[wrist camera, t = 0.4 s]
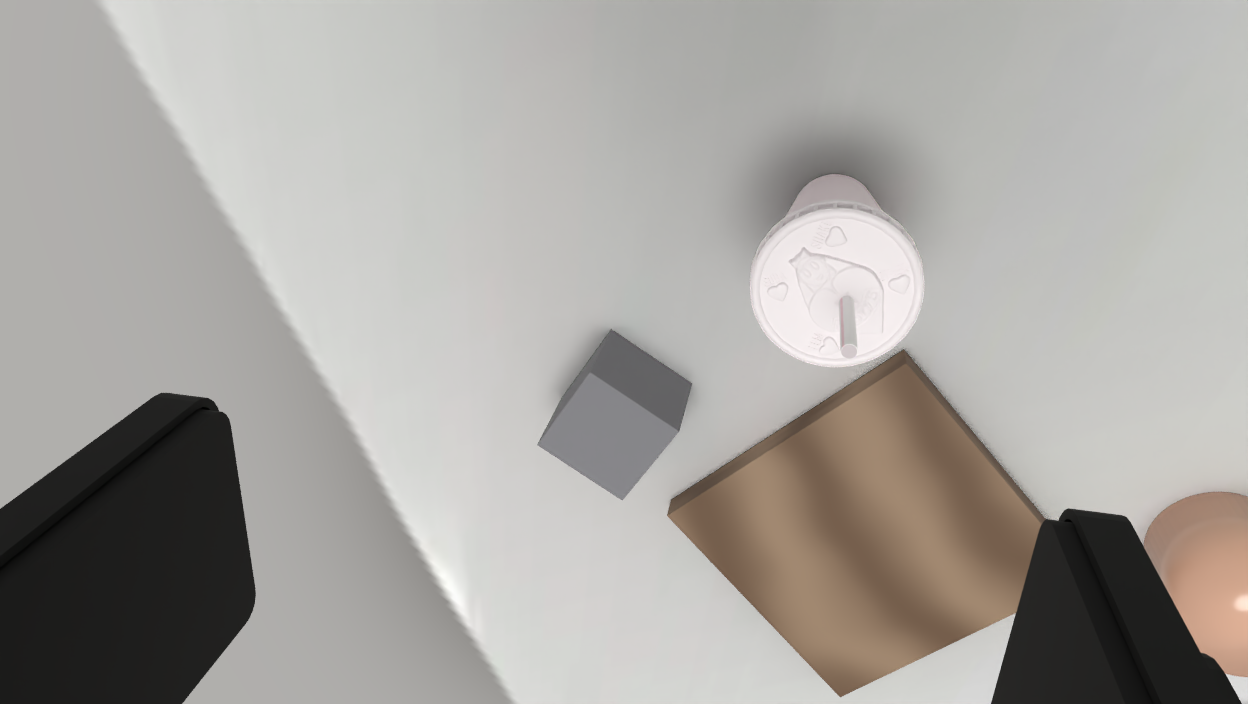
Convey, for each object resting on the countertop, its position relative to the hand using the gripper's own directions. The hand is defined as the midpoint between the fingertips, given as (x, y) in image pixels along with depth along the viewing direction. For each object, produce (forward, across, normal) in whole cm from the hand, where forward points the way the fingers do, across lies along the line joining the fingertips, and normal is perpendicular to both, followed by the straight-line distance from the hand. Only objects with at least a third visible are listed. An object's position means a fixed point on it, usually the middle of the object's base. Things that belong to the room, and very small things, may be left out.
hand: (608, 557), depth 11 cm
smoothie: (+35, -4, +5) cm, 35 cm away
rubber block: (+35, +5, +16) cm, 39 cm away
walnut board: (+35, -8, +22) cm, 42 cm away
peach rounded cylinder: (+34, -25, +20) cm, 47 cm away
